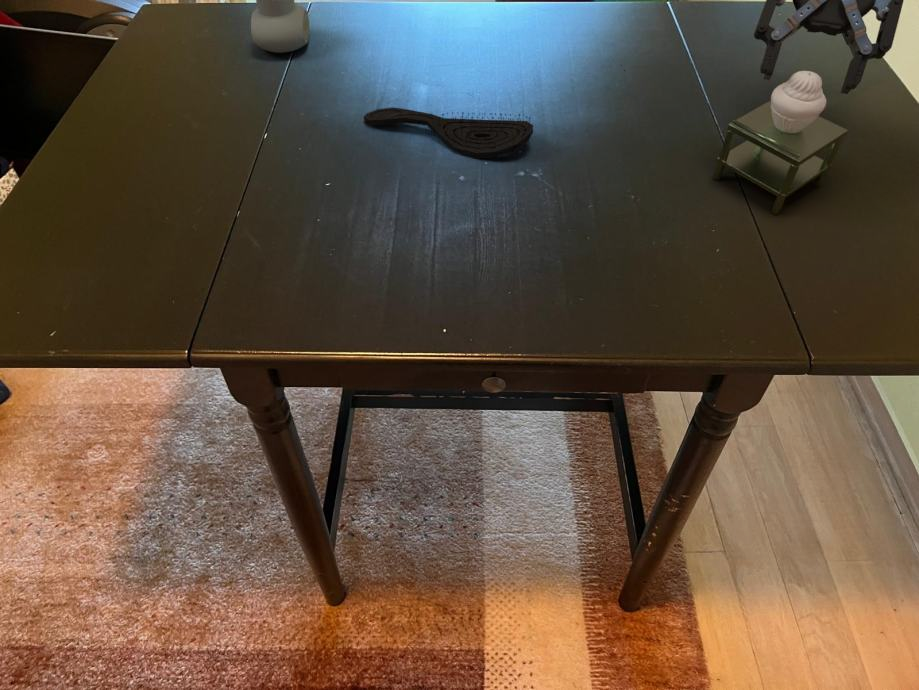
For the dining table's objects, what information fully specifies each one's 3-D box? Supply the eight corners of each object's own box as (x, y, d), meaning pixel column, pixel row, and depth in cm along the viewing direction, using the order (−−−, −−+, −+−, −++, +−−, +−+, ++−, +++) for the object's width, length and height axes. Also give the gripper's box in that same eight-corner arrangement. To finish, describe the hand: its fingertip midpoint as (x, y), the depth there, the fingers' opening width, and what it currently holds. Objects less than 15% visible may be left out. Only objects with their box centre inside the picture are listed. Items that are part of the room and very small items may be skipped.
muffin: (825, 130, 83) (850, 75, 77) (791, 146, 81) (813, 92, 75) (784, 107, 86) (805, 53, 81) (750, 122, 84) (769, 68, 79)
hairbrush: (373, 87, 100) (540, 107, 94) (377, 110, 103) (539, 131, 97) (350, 118, 95) (524, 141, 89) (354, 141, 98) (524, 165, 92)
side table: (758, 149, 94) (779, 91, 87) (822, 184, 89) (851, 125, 82) (711, 177, 90) (730, 119, 83) (775, 216, 85) (801, 156, 78)
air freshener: (264, 30, 118) (250, -32, 110) (312, 28, 118) (301, -33, 111) (255, 62, 111) (238, -2, 104) (306, 60, 111) (293, -3, 104)
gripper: (791, -88, 75) (746, 62, 77) (935, -72, 71) (884, 86, 73) (779, -54, 82) (738, 83, 84) (909, -37, 78) (863, 105, 80)
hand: (806, 84), depth 79 cm, fingers open, 8 cm apart
